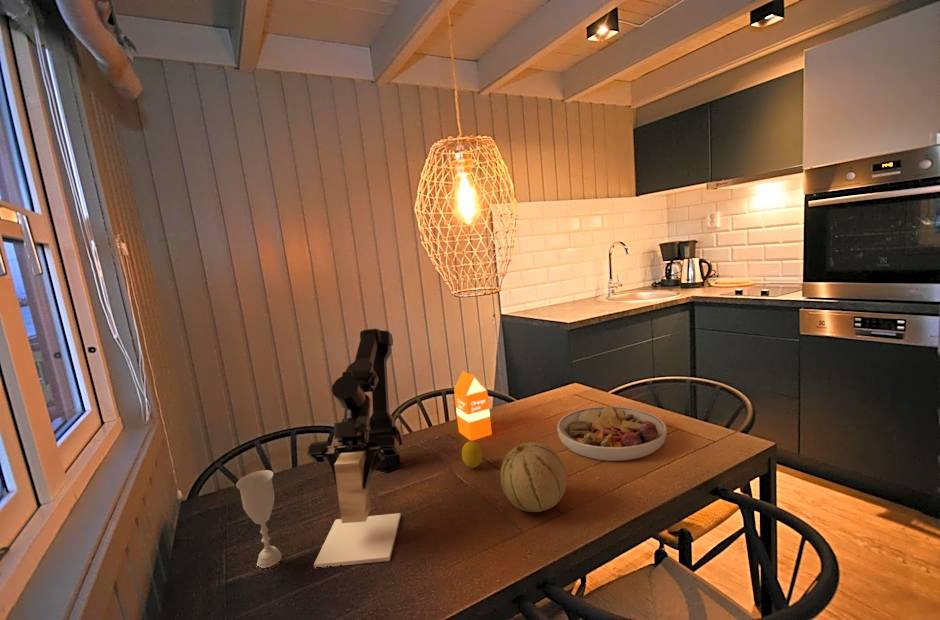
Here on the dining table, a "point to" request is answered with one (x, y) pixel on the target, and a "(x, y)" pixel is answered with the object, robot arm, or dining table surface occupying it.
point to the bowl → (612, 433)
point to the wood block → (352, 487)
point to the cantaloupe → (533, 477)
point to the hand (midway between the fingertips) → (351, 489)
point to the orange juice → (472, 407)
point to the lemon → (472, 454)
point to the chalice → (260, 509)
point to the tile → (359, 541)
